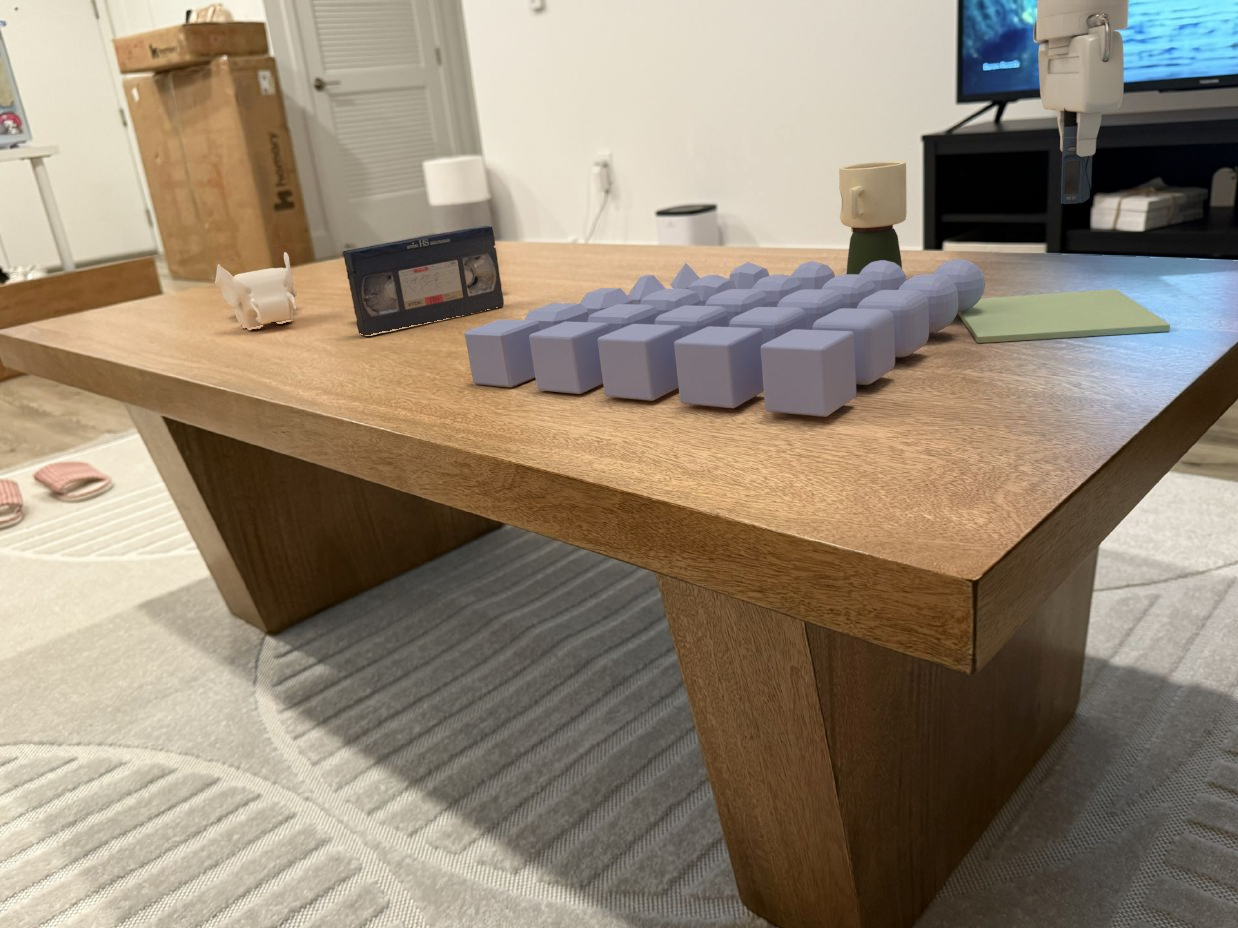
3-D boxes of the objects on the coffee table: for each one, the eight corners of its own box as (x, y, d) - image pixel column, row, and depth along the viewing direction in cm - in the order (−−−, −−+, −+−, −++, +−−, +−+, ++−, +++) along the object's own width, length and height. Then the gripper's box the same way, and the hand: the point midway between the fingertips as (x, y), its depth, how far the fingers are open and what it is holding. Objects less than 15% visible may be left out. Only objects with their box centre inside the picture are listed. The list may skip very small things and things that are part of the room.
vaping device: (1057, 205, 110) (1060, 91, 106) (1068, 198, 114) (1072, 88, 110) (1082, 204, 108) (1086, 88, 104) (1092, 197, 112) (1097, 85, 108)
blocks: (471, 384, 89) (462, 331, 87) (684, 301, 114) (679, 258, 112) (827, 418, 68) (823, 348, 66) (992, 306, 93) (992, 254, 91)
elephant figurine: (244, 340, 121) (227, 268, 118) (221, 329, 130) (204, 261, 127) (320, 324, 125) (305, 254, 122) (292, 314, 135) (278, 249, 132)
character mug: (865, 273, 118) (862, 161, 114) (923, 274, 114) (922, 157, 109) (824, 293, 110) (819, 172, 106) (884, 294, 106) (882, 169, 101)
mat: (1115, 295, 94) (1116, 288, 94) (1169, 331, 81) (1170, 324, 80) (952, 306, 97) (952, 300, 97) (977, 343, 84) (977, 336, 83)
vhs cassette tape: (365, 338, 114) (348, 252, 110) (357, 335, 116) (340, 250, 113) (507, 307, 123) (495, 226, 119) (496, 305, 125) (484, 225, 122)
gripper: (1145, 7, 94) (1137, 157, 99) (1088, 19, 113) (1083, 145, 118) (1074, 16, 96) (1069, 164, 100) (1030, 27, 114) (1027, 151, 119)
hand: (1077, 154), depth 109 cm, fingers closed on vaping device, 5 cm apart
